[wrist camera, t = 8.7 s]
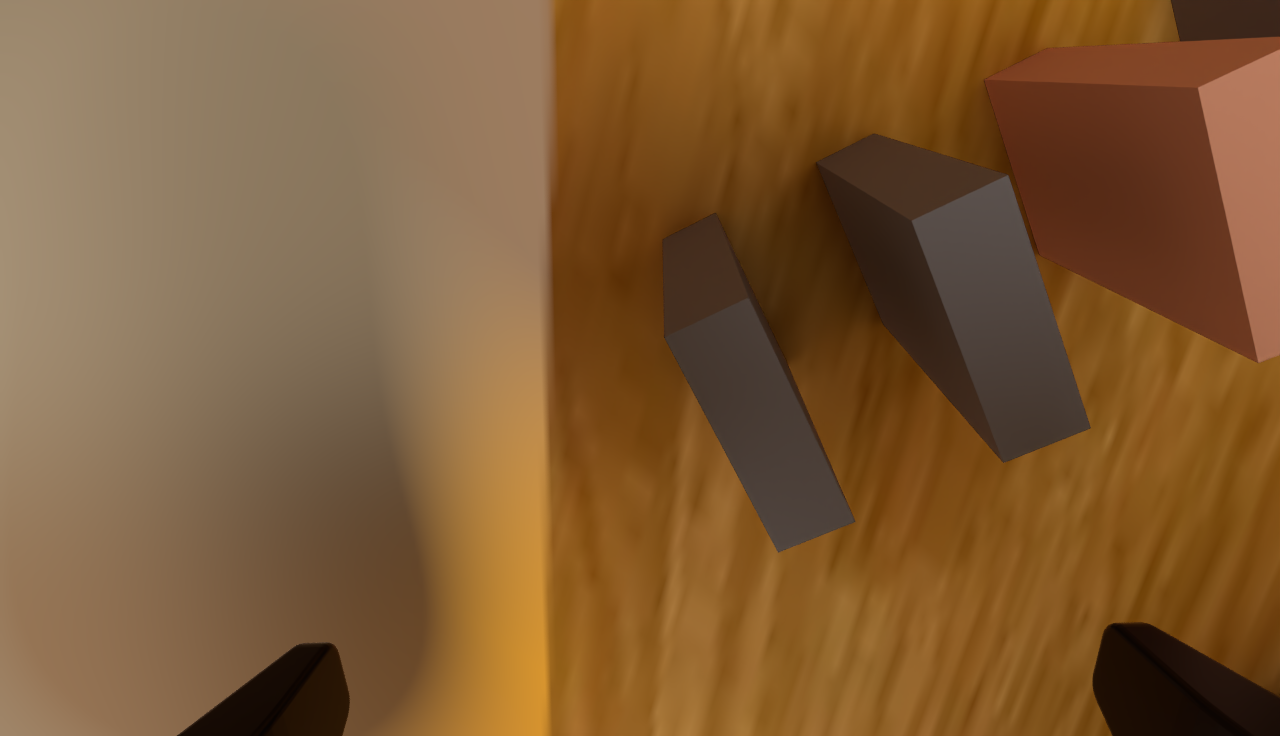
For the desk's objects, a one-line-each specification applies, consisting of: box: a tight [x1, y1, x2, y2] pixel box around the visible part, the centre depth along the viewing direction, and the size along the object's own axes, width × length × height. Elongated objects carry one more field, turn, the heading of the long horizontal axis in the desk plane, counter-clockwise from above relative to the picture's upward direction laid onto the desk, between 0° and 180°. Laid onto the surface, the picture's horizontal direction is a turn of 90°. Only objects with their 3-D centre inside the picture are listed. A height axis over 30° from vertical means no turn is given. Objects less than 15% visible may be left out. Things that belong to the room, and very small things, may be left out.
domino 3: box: [984, 37, 1280, 363], centre depth 16 cm, size 5×2×8 cm, turn 27°
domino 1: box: [663, 213, 855, 552], centre depth 17 cm, size 5×2×8 cm, turn 27°
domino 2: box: [816, 134, 1091, 463], centre depth 16 cm, size 5×2×8 cm, turn 27°
